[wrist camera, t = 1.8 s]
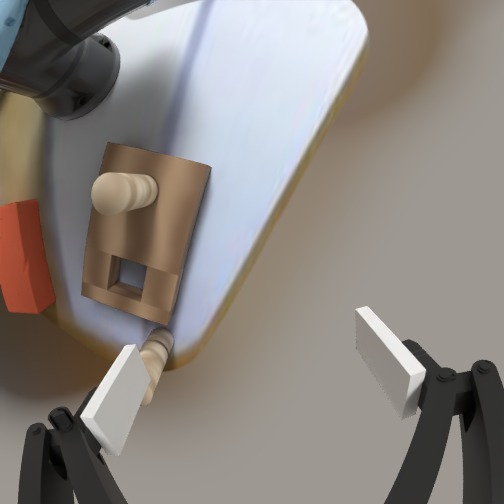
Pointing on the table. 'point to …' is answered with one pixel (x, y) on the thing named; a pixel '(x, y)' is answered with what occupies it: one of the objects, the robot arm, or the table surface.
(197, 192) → the walnut board
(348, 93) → the table surface
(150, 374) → the beech leg
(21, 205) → the brick
